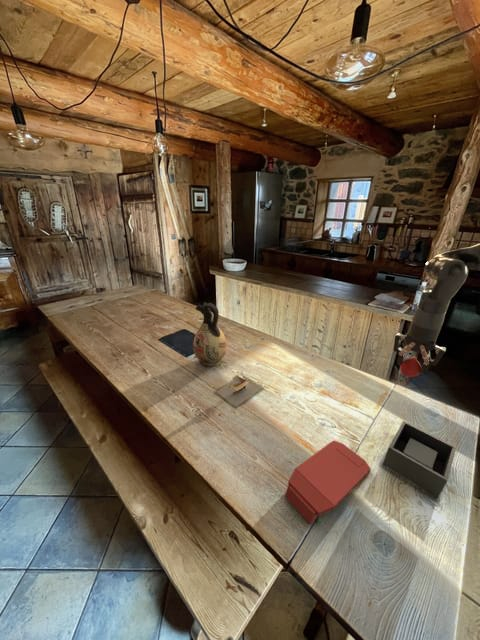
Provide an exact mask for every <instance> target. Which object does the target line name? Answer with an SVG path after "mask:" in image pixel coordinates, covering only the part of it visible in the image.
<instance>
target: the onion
mask: <svg viewBox="0 0 480 640" xmlns="http://www.w3.org/2000/svg"><path fill="white" fill-rule="evenodd" d="M421 369H422V364H421V363H420V362H419V361H418V358H417V356H412V357H408V358H404V359H403V362H402V363H401V365H399V370H400V371H401V373H402V375H404V376H405V377H406V378H413V377H414V378H415V377H417V376H419V375H420V374H421V373H420V371H421Z"/></svg>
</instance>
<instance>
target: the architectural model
mask: <svg viewBox="0 0 480 640" xmlns="http://www.w3.org/2000/svg"><path fill="white" fill-rule="evenodd" d="M262 389H263V387H261V386H260V385H258V384H257V383H255V382H254V381H252V380H251V379H249V378H247V377H246V376H244V371H243V370H242V371H240V372H239V373H237V374H235V375H234V376H232V381H231V382H230V383H228V384H226V385H225V386H224V387H223V386H222V388H220V389H218V390H217V391H216V392H215V393H216V394H217V395H219V396H220V397H222V398H223V399H224V400H225V401H227V402H228V403H230V404H231V405H232V406H234V407H235V408H237V407H238V406H240V405H241V404H242V403H244V402H245V401H247V400H248V399H250V398H251V397H252V396H254V395H255V394H257V392H259V391H261V390H262Z"/></svg>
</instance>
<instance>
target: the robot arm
mask: <svg viewBox="0 0 480 640" xmlns="http://www.w3.org/2000/svg"><path fill="white" fill-rule="evenodd" d="M469 270H470V271H480V242H478V243H475V244H473V245H471V246H467V247H461V248H457V249H452V250H449V251H445V252H441V253H439V254H437V255H436V254H435V256H433V257H431V258H430V259H429V260H428V261H427V262H426V263H425V266H424V273H425V274H426V276H427V277H429V278H430V279H432V280H433V281H436V283H435V285H434V286H433V287H430V288H426V289H424V290H423V291H422V294H421V296H420V298H419V301H418V305H417V308H415V311H414V314H413V316H412V319H411V320H412V321H411V323H410V326H409V329H408V332H407V334H402V333H401V332H398V333H396V334H395V336H394V343H393V352H395V353H397V354H398V356H397V359H396V363H397V365H398V366H400V365H401V363H402V362H403V361H404V360H405V356H406V353H407V352H408V351H409V350H410V351H412V352H416V353H417V354H420V355H421V356H422V359H423V363H422V365H421V371H420V374H422V375H423V374H426V373H427V371H428V369H429V367H430V366H433V367H436V366H437V365H438V363H439V362H440V361H441V359H442V357H443V356H444V354H445V353H446V351H447V348H446V347H445V346H439V345H437V341H438V340H437V339H438V337H439V334H440V332H441V329H442V326H443V324H444V322H445V318H446V314H447V311H448V308H449V305H450V303H451V299H452V298H453V297H455V295H456V294H457V293H458V291H459V290H460V289H461V287H462V286H463V285H464V283H466V280H467V278H468V275H469ZM403 340H404V341H405V343H406V345H405V346H404V347H403V348H402V347H401V343H402V341H403ZM433 350H435V354H436V356H435V357H434V359H432V358H431V351H433Z"/></svg>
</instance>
